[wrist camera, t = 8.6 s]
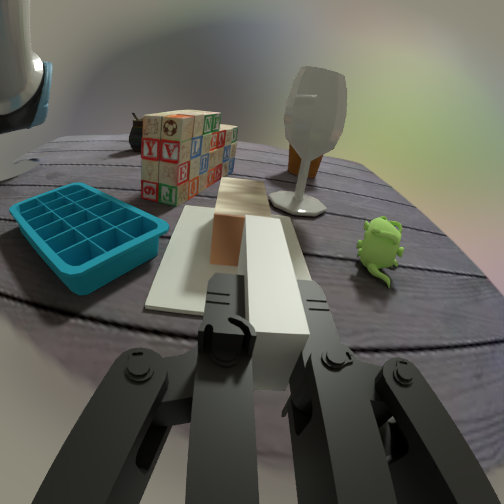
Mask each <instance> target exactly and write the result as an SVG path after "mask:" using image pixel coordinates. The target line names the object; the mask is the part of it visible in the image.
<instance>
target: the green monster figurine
mask: <svg viewBox="0 0 504 504" xmlns="http://www.w3.org/2000/svg"><path fill="white" fill-rule="evenodd" d="M393 225H395V226H398V227H399V231H398V230H397V229H396V228H395V227H394V226H393ZM364 230H366V232H365V235H364V241H363V240H359V241H358V243H357V247H356V248H360V249H359V251H358V254H357V257H358V256H360V260H361V262H362V263H363V265H364V266H365V267H367V269H368V271H369V273H370V274H372V275H373V276H375V277H377V278H380V279H382V280H384V281H385V282H386V283H387V285H388V288H390V278H389V277H388V276H387V275H385V274H383V273H381V272H380V271H379V270H378V269H381V268H387V267H391V266H392V265H395V266H396V267H397V266H398V263H397V261H396V260H395V257H396V254H397V255H398V256H399V257H401V256H402V254H403V251H404V247H399V243H400V239H401V232H402V226H401V224H400V223H399V222H396V221H387V218H386V217H385V216H381V217H380V218H376V219H374V220H372V221H371V223H370V224H369V223H368V222H367V221H365V224H364Z"/></svg>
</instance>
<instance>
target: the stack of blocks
mask: <svg viewBox="0 0 504 504" xmlns="http://www.w3.org/2000/svg"><path fill="white" fill-rule="evenodd" d="M220 120H221V113H218V112H207V111H196V110H179V111H170V112H164V113H158V114H149V115H144V117H143V137H142V145H141V158H142V161H141V164H142V170H141V178H142V179H141V198H142V199H146V200H150V201H155V202H159V203H163V204H167V205H171V206H175V207H177V206H179V205H180V204H182V203H184V202H185V201H187V200H189V199H191V198H192V197H194V196H195V195H197V194H198V193H200V192H202V191H203V190H205V189H206V188H207V187H209V186H210V185H212V184H213V183H215V182H216V181H218V180H220V179H221V178H222V177H225V176H227V175H228V174H230V173H232V172H233V168H234V160H235V153H236V145H237V142H236V140H237V133H238V127H237V126H230V125H222V124H220Z"/></svg>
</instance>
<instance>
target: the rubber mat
mask: <svg viewBox="0 0 504 504" xmlns="http://www.w3.org/2000/svg"><path fill="white" fill-rule="evenodd" d="M214 212H215V208H208V207H198V206H187V205H185V207H184V209H183V212H182V214H181V216H180V218H179V221H178V223H177V225H176V228H175V230H174V232H173V235H172V237H171V239H170V242H169V244H168V246H167V249H166V251H165V254H164V256H163V259H162V261H161V264H160V266H159V269H158V271H157V274H156V276H155V279H154V282H153V284H152V287H151V289H150V292H149V295H148V298H147V300H146V303H145V309H152V310H159V311H167V312H175V313H183V314H192V315H201V316H204V308H205V301H206V294H207V286H208V281H209V279H210V278H211V277H212V276H213V275H214V274H215V272H216V273H226V274H236V275H238V267H237V266H227V265H217V264H210V255H211V242H212V230H213V219H214ZM271 216H272V218H277V219H280V221H281V224H282V228H283V232H284V235H285V239H286V243H287V246H288V250H289V254H290V257H291V261H292V265H293V269H294V273H295V277H296V279H299V280H311V277H310V274H309V271H308V268H307V265H306V262H305V259H304V256H303V253H302V250H301V247H300V245H299V242H298V239H297V236H296V233H295V230H294V227H293V225H292V222H291V219H290V217H287V216H279V215H271ZM311 281H312V280H311Z"/></svg>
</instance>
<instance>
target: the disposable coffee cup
mask: <svg viewBox="0 0 504 504" xmlns="http://www.w3.org/2000/svg"><path fill="white" fill-rule="evenodd" d="M289 146H290V147H289V163H288V171H289V172H290V173H292V174H294V175H297V176H298V174H299V169H300V164H301V160H302V159H301V158H300V156H299V155H298V153H297V152H296V151H295V149H294V148H293V147H292V146H291V144H290V145H289ZM322 157H323V155H321V156H319V157H318V158H316V159H314V160H312V161H311V162H310V167H309V172H308V177H307V178H313V177H315V176H316V174H317V171H318V168H319V165H320V162H321V160H322Z"/></svg>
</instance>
